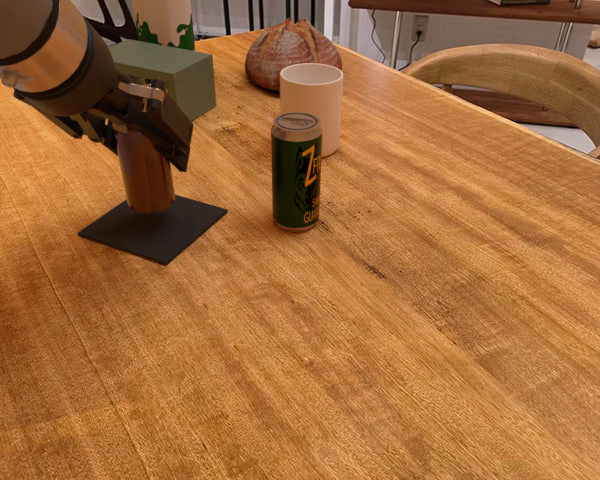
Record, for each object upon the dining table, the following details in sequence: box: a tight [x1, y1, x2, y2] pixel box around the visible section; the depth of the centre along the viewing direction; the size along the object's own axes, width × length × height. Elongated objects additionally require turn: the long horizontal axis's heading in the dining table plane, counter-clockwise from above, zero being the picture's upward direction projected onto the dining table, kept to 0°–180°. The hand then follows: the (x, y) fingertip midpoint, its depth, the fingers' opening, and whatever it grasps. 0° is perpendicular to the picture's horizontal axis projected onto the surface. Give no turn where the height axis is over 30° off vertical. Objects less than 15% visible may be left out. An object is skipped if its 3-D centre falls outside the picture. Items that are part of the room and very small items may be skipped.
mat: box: [77, 194, 229, 266], centre depth 67 cm, size 12×12×1 cm
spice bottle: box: [112, 123, 176, 213], centre depth 62 cm, size 5×5×12 cm
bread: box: [244, 16, 343, 94], centre depth 102 cm, size 16×20×10 cm
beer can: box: [270, 112, 322, 233], centre depth 64 cm, size 5×5×12 cm
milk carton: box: [131, 0, 196, 84], centre depth 98 cm, size 9×9×20 cm
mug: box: [279, 63, 344, 159], centre depth 82 cm, size 12×8×10 cm
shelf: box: [108, 38, 217, 122], centre depth 91 cm, size 16×10×8 cm, turn 63°
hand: (159, 157), depth 66 cm, fingers closed on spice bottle, 5 cm apart
